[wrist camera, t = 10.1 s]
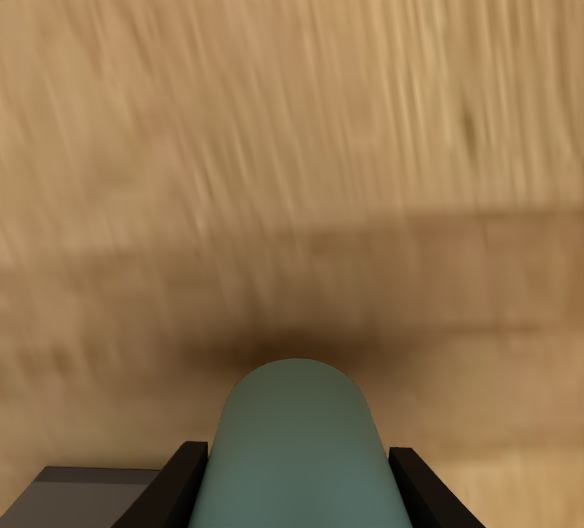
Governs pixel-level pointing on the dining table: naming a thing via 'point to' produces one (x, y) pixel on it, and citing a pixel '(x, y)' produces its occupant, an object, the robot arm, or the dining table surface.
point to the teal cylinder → (297, 455)
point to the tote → (77, 498)
